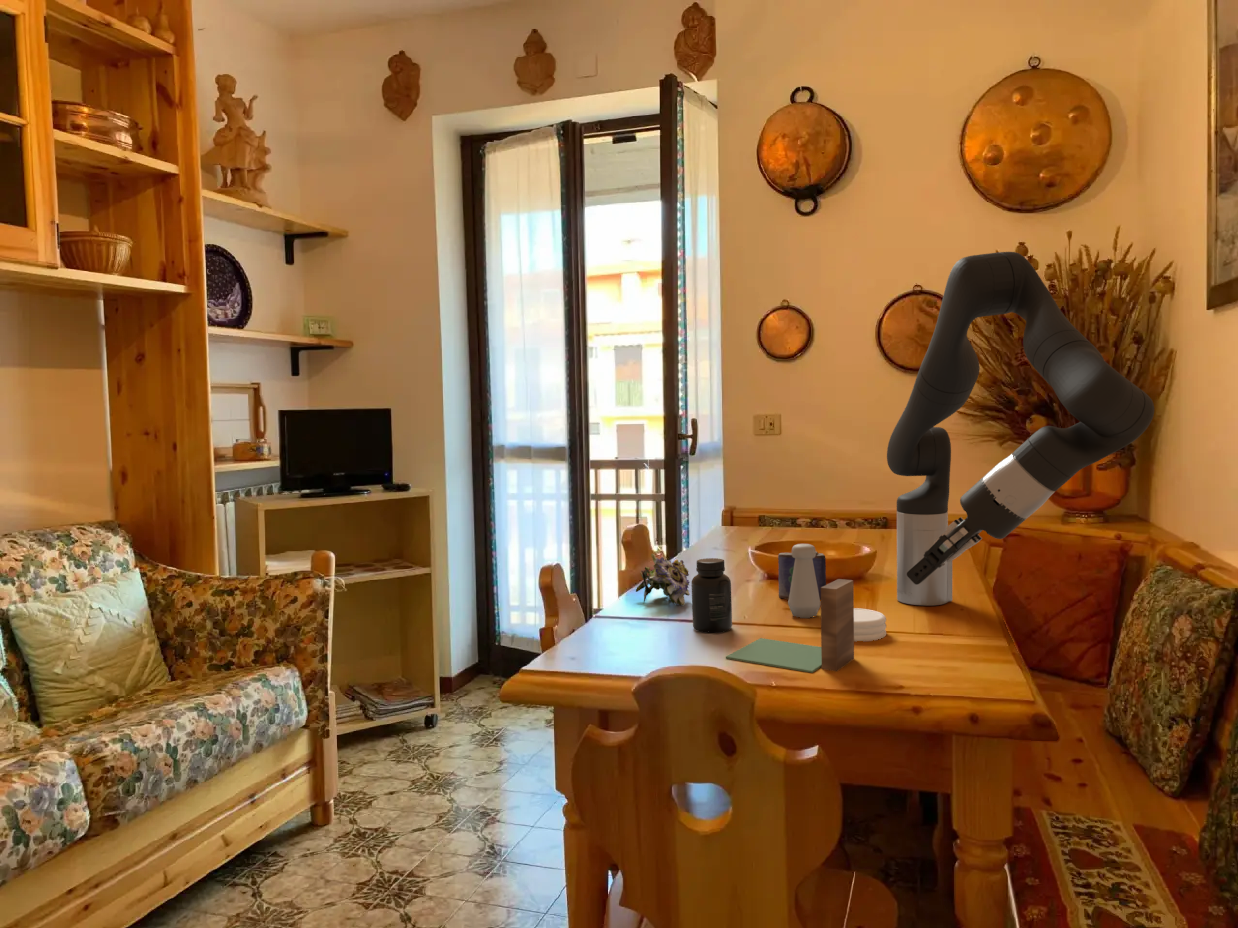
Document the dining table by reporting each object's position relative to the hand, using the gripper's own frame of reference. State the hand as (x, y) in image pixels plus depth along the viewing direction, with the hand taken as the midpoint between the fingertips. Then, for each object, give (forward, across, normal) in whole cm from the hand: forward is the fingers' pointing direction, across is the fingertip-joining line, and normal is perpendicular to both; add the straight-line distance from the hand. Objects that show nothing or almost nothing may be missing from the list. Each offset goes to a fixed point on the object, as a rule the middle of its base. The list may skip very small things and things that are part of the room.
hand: (912, 578), depth 121 cm
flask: (+33, -37, -13) cm, 51 cm away
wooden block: (+17, 0, +2) cm, 18 cm away
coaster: (+20, -17, 0) cm, 27 cm away
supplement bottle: (+36, -8, -16) cm, 40 cm away
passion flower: (+49, -21, -29) cm, 60 cm away
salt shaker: (+29, -24, -9) cm, 39 cm away
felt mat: (+23, 0, -4) cm, 24 cm away
